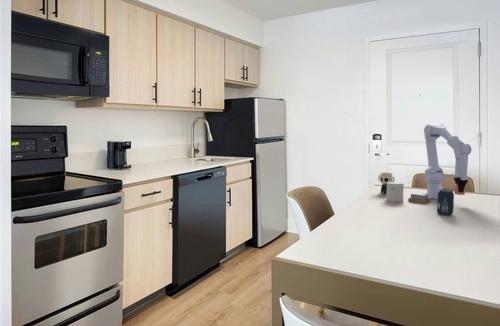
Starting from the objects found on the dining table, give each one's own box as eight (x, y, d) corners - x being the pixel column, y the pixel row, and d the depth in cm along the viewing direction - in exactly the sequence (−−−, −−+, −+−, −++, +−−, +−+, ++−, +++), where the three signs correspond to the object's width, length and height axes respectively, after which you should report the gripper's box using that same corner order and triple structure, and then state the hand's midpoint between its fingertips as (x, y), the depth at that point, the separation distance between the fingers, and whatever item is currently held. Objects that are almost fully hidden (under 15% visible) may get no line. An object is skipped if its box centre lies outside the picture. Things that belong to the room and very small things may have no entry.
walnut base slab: (414, 200, 210) (414, 195, 210) (430, 202, 204) (430, 198, 204) (408, 202, 204) (408, 198, 204) (424, 204, 198) (424, 200, 197)
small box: (400, 199, 209) (400, 182, 207) (403, 201, 203) (404, 183, 202) (386, 199, 209) (386, 181, 208) (388, 201, 204) (389, 183, 203)
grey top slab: (415, 196, 209) (415, 192, 209) (428, 198, 204) (428, 193, 204) (410, 198, 204) (410, 193, 204) (423, 199, 199) (423, 195, 199)
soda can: (447, 212, 178) (448, 189, 177) (456, 216, 171) (457, 191, 170) (433, 212, 178) (435, 189, 176) (441, 216, 171) (443, 191, 170)
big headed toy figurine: (374, 193, 229) (375, 173, 228) (380, 191, 234) (381, 172, 232) (390, 195, 221) (391, 174, 219) (396, 194, 225) (397, 173, 224)
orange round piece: (456, 192, 197) (456, 183, 196) (465, 193, 193) (466, 184, 193) (453, 193, 193) (453, 184, 193) (463, 195, 190) (463, 186, 189)
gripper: (450, 164, 200) (449, 188, 201) (455, 167, 186) (453, 193, 188) (464, 165, 197) (463, 189, 199) (470, 168, 184) (469, 194, 185)
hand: (459, 191), depth 193 cm, fingers closed on orange round piece, 5 cm apart
